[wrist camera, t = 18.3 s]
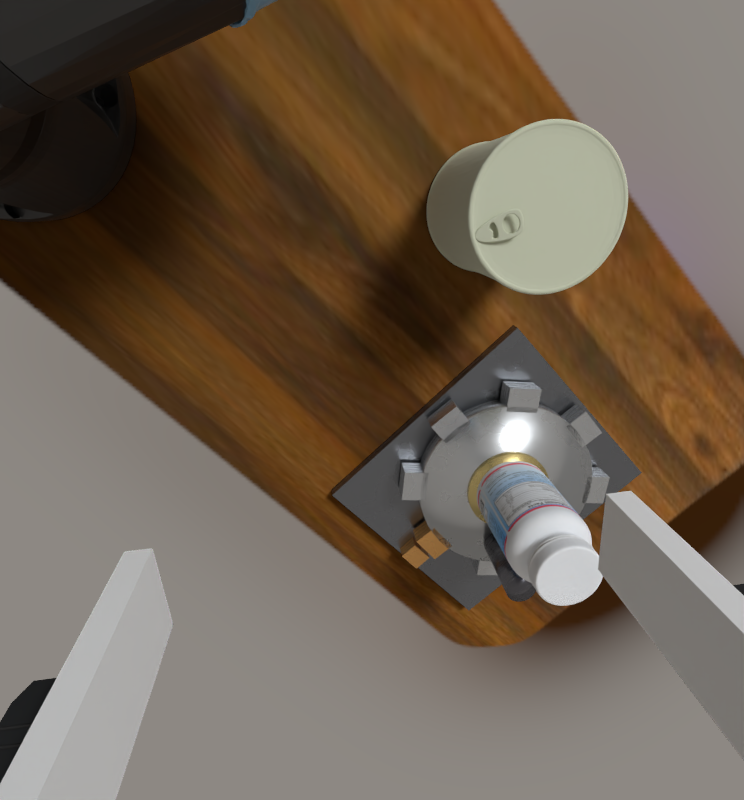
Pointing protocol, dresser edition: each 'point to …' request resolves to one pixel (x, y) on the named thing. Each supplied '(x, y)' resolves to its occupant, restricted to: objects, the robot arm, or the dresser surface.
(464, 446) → the sprocket
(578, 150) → the pale green cylinder
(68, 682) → the robot arm
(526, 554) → the pill bottle
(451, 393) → the base plate
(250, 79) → the dresser surface
